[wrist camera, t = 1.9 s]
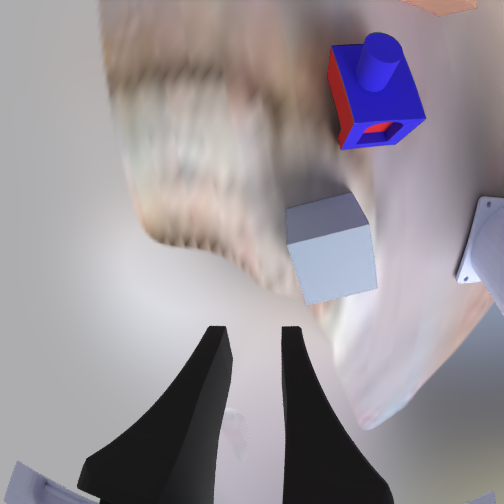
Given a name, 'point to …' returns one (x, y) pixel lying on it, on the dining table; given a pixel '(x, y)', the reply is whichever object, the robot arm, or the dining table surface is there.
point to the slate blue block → (331, 248)
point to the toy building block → (373, 92)
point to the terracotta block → (444, 5)
